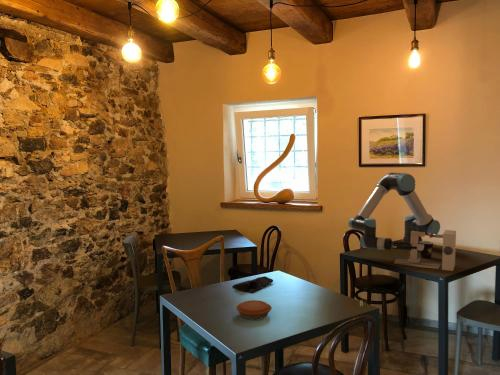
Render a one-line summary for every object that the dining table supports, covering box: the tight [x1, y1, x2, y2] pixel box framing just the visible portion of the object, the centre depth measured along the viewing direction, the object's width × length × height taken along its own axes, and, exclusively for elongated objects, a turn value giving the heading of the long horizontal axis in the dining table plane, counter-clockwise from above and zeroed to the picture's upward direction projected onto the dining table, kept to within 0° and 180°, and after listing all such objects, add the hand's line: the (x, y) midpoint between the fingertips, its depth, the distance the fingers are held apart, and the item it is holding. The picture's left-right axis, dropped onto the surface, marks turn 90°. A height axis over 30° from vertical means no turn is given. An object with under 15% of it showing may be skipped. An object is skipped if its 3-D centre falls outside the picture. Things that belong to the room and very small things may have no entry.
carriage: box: [407, 231, 426, 263], centre depth 273 cm, size 7×9×19 cm
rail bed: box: [393, 258, 442, 270], centre depth 273 cm, size 11×26×1 cm, turn 60°
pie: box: [235, 299, 273, 320], centre depth 192 cm, size 16×16×5 cm
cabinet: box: [441, 229, 457, 272], centre depth 263 cm, size 13×6×22 cm, turn 150°
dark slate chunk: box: [231, 276, 274, 294], centre depth 232 cm, size 15×22×5 cm
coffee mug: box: [418, 240, 434, 260], centre depth 290 cm, size 12×9×10 cm
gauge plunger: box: [429, 233, 443, 239], centre depth 266 cm, size 3×10×3 cm, turn 60°
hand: (423, 247), depth 271 cm, fingers open, 4 cm apart
